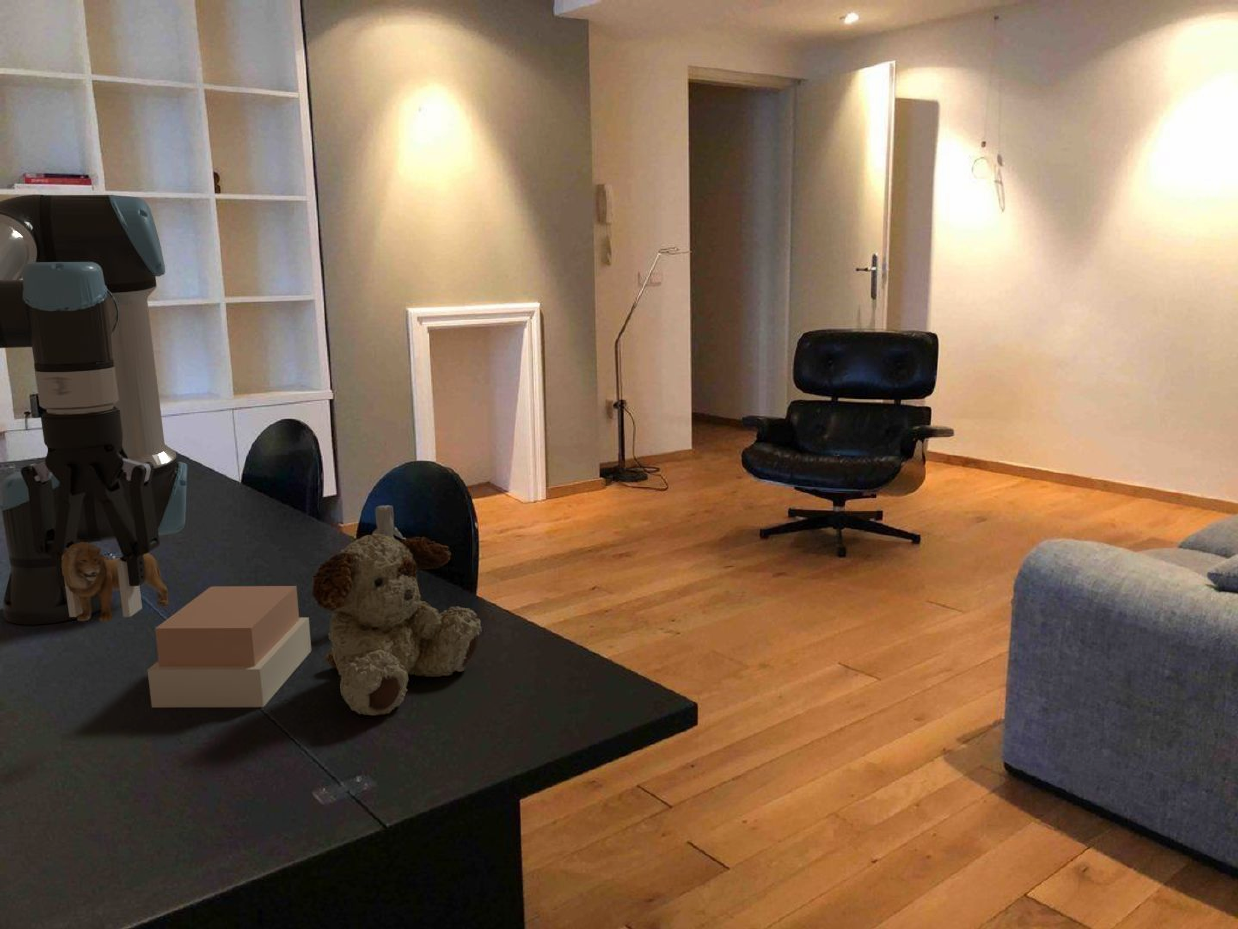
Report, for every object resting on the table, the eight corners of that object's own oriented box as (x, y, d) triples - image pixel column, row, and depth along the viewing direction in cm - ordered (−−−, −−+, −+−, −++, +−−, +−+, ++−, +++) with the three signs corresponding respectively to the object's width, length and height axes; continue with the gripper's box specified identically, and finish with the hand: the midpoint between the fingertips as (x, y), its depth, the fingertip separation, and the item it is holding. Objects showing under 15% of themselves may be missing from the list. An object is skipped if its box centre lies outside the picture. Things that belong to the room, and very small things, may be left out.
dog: (369, 733, 114) (357, 569, 110) (264, 698, 124) (250, 546, 120) (495, 664, 133) (489, 523, 129) (396, 638, 143) (387, 506, 139)
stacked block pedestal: (151, 707, 121) (142, 631, 119) (213, 651, 139) (207, 584, 137) (263, 707, 121) (256, 631, 119) (311, 650, 139) (305, 583, 137)
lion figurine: (92, 630, 104) (89, 545, 103) (49, 627, 105) (45, 544, 104) (181, 602, 118) (179, 528, 117) (142, 600, 119) (140, 527, 118)
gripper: (-28, 414, 101) (4, 625, 106) (147, 413, 101) (171, 625, 106) (17, 403, 109) (45, 601, 114) (180, 402, 108) (201, 601, 113)
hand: (106, 612), depth 110 cm, fingers closed on lion figurine, 5 cm apart
